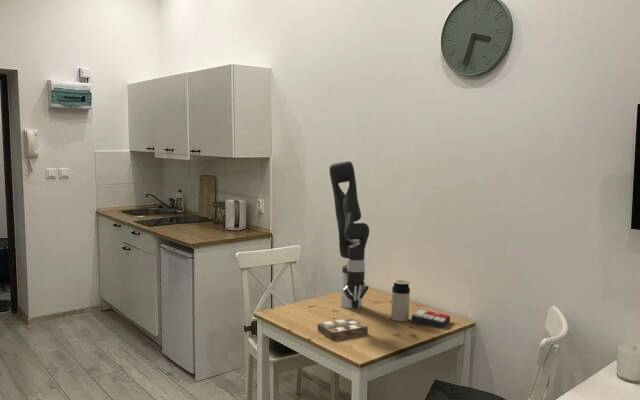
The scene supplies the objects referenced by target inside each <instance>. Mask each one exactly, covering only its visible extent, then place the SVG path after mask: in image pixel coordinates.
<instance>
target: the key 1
mask: <svg viewBox="0 0 640 400" xmlns="http://www.w3.org/2000/svg"><path fill="white" fill-rule="evenodd" d="M333 322H334V321H331V320H330V321H329V320H328V321H324V322H322V323H323V327H325V328H326V329H329V328H335V324H334V323H333Z"/></svg>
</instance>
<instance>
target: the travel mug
mask: <svg viewBox="0 0 640 400" xmlns="http://www.w3.org/2000/svg"><path fill="white" fill-rule="evenodd" d="M409 284H410V281H409V280H407V279H393V286H392V287H391V290H392V291H391V292H392V293H391V313H390V315H391V317H390V319H391V320H393V321H394V322H399V323H403V322H407V321H409V320H410V319H409V318H410V317H409V314H410V295H411V293H410V291H411V288H410V285H409Z"/></svg>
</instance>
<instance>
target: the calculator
mask: <svg viewBox="0 0 640 400" xmlns="http://www.w3.org/2000/svg"><path fill="white" fill-rule="evenodd" d="M450 321H451V316H449V315H447V314H444V313H439V312H435V311H431V310H430V311H429V310H428V311H427V310H423V309H418V310H417V311H415V312H414V313H413V314H412V315H411V320H410V323H411V324H414V323H415V325H423V326H426V325H428V326H427V327H431V326H433V327H432V328H436V327H437V329H444V328H446V327H447V326H448V325H447V324H450ZM446 325H447V326H446ZM445 326H446V327H445Z"/></svg>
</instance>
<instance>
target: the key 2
mask: <svg viewBox="0 0 640 400" xmlns="http://www.w3.org/2000/svg"><path fill="white" fill-rule="evenodd" d="M356 321H357V320H356ZM356 321H348V322H347V323H349V324H351V325H353V324H358V322H359V321H358V322H356Z"/></svg>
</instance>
